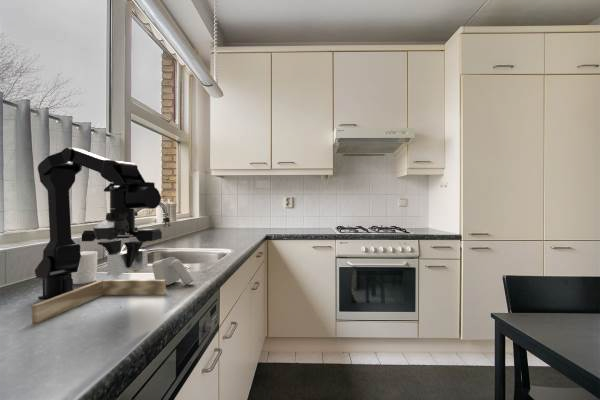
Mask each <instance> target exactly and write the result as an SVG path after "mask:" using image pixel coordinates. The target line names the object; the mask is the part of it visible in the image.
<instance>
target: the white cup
mask: <svg viewBox="0 0 600 400" xmlns="http://www.w3.org/2000/svg"><path fill="white" fill-rule="evenodd" d="M80 254H81V257H80V262H79V266H78V270H77V272H73V273H72V279H73V285H84V284H91V283H94V282H96V280H97V272H98V271H97V270H98V254H99V253H98V251H96V250H95V251H94V250H87V251H86V250H85V251H84V250H83V251H80Z"/></svg>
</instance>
